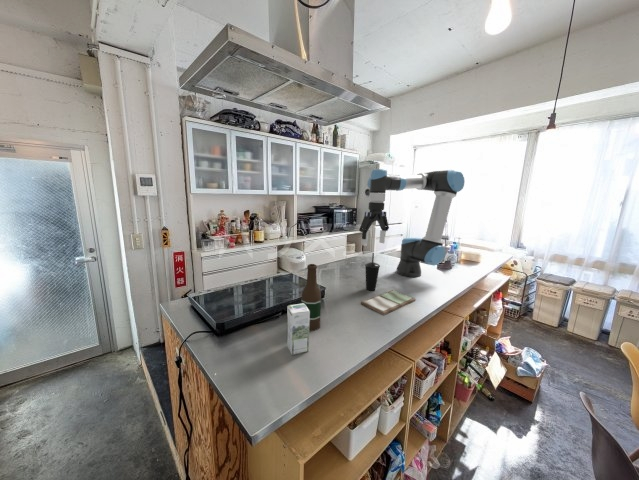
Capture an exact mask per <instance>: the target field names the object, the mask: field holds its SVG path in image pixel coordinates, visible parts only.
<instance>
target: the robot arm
mask: <svg viewBox="0 0 639 480" xmlns="http://www.w3.org/2000/svg"><path fill="white" fill-rule="evenodd" d="M366 183H367V187H368V189H369V199H368V200H369V201H370V202H368V210H369V211H365V212H364V217H363V219H362V222H361V224H360V226H359V230H358V231H359V232H360V233H362V234H361V246H364V247H367V246H368V241H369V239H368V237H369V232H368V231H369V229H370V228H371V226H372V224H373V223H374V222H377V223H378V225H379V228H380V229H381V230H379V243H380V244H385V241H386V239H385V238H386V233H387V231H388V230H389V229H390V227H389V223H388V219H387V211H385V201H386V191H396V192H398V191H403V190H406V189H408V190H411V189H416V190H418V191H431V192H433V193H434V195H435V197H434V198H435V199H434V202H433V206H432V209H431V214H430V218H429V221H428V225H427V228H426V232H425V236H424V237H422V238H421V237H404V238H403V239H402V240H401V247H400V259H399V262H398V264H397V267H396V271H395V273H396V274H398V275H399V276H403V277H408V278H418V277H421V276H422V268H421V265H420V262H422V263H424V264H426V265H432V266H437V265H439V264H440V263H441V262H442V261H443V260H444V259H445V255H446V249H445V247H444V246H443V245H444V242H443V241H442V237H443V235H444V231H445V227H446V223H447V220H448V216H449V212H450V208H451V204H452V200H453V199H454V198H455V197H457V194H458V193H459V192H461V191H462V190H463V189H464V187H465V177H464V174H463V172H462V171H460V170H458V169H449V170H448V169H447V170H435V171H434V170H433V171H429V172H424V173H422V172H421V173H417V174H416V175H415V174H410V175H405V174H404V175H400V174H388V171H387V169H385V168H384V169H383V168H375V169H372V170H371V173H370V177H369V178H368V180H367V182H366Z"/></svg>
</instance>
